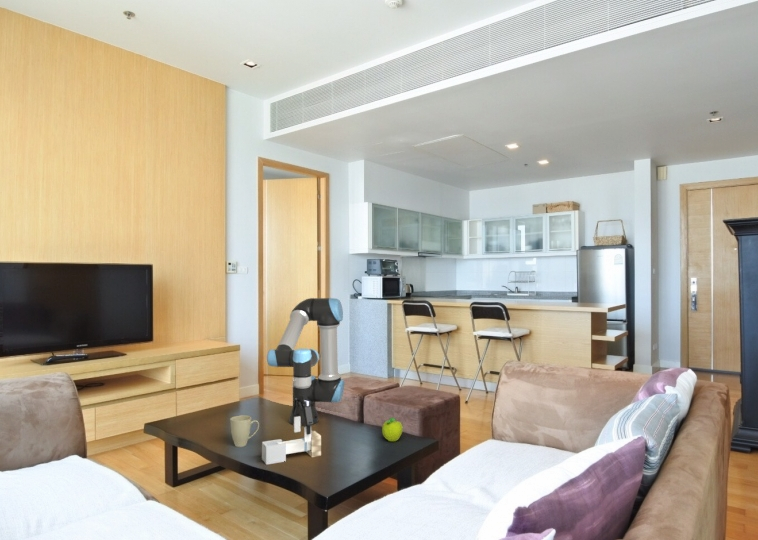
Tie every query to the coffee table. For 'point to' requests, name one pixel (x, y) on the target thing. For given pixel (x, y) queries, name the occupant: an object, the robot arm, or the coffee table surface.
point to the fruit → (392, 429)
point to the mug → (241, 429)
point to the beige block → (315, 445)
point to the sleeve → (273, 451)
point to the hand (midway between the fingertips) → (302, 436)
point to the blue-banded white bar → (296, 445)
